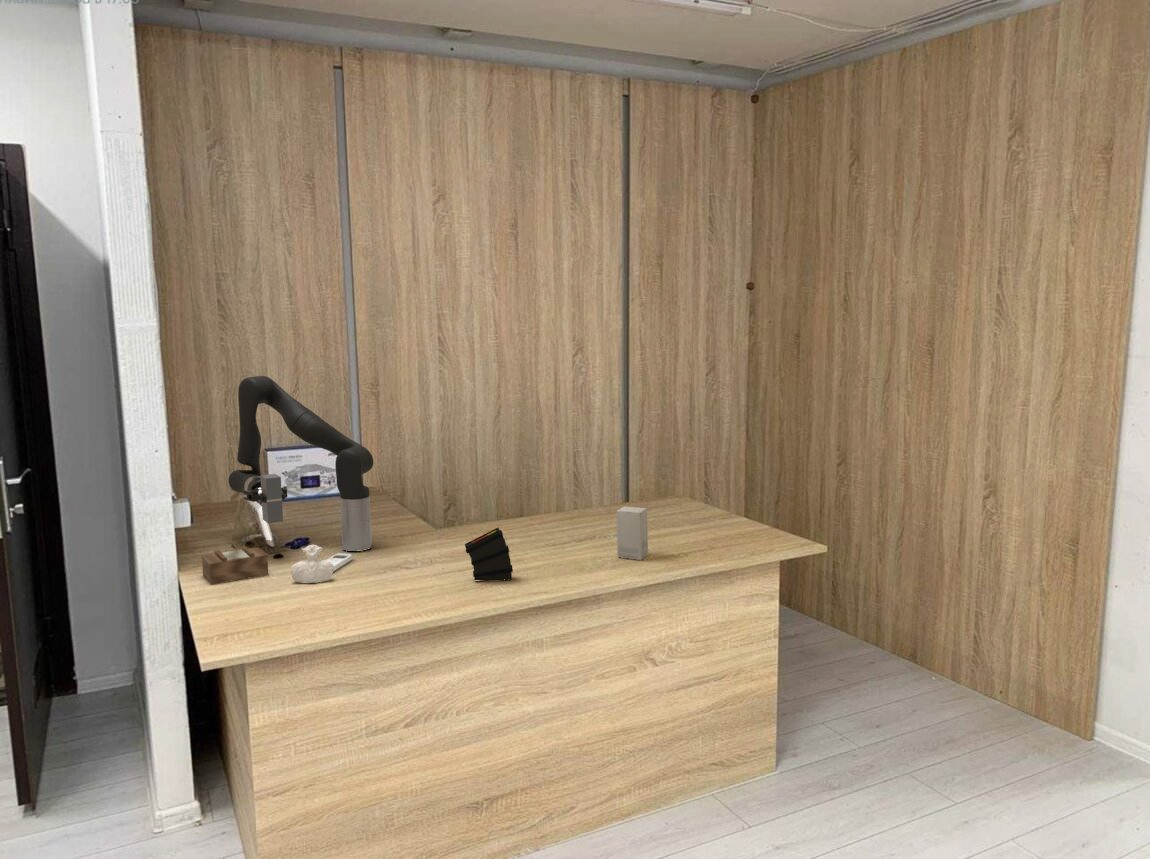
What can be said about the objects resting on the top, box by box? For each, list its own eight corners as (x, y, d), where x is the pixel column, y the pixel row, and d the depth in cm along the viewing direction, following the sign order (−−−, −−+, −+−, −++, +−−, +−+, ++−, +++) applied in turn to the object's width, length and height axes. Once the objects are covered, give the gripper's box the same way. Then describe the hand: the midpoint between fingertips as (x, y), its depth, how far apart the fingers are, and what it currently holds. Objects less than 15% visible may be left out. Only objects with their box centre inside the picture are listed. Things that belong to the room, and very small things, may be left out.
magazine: (523, 574, 253) (500, 529, 250) (482, 595, 253) (458, 550, 250) (522, 570, 257) (499, 526, 254) (481, 591, 256) (458, 547, 253)
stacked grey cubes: (262, 519, 274) (260, 475, 272) (277, 517, 277) (275, 473, 275) (268, 523, 269) (265, 478, 267) (283, 521, 272) (280, 476, 270)
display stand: (258, 566, 267) (257, 544, 266) (268, 574, 259) (267, 551, 258) (203, 575, 258) (201, 552, 257) (210, 584, 250) (209, 560, 249)
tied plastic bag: (334, 586, 255) (335, 550, 260) (332, 577, 248) (333, 540, 254) (291, 589, 253) (293, 552, 258) (288, 579, 246) (290, 542, 252)
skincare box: (648, 556, 278) (649, 507, 275) (641, 561, 272) (641, 512, 270) (623, 553, 281) (624, 505, 279) (615, 558, 275) (616, 509, 273)
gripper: (235, 479, 279) (249, 489, 265) (280, 474, 287) (297, 483, 273) (236, 503, 280) (250, 513, 266) (281, 497, 288) (298, 507, 274)
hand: (274, 498), depth 270 cm, fingers closed on stacked grey cubes, 4 cm apart
